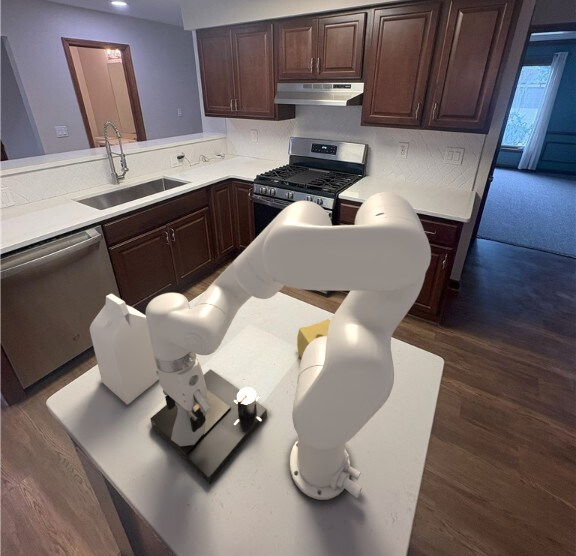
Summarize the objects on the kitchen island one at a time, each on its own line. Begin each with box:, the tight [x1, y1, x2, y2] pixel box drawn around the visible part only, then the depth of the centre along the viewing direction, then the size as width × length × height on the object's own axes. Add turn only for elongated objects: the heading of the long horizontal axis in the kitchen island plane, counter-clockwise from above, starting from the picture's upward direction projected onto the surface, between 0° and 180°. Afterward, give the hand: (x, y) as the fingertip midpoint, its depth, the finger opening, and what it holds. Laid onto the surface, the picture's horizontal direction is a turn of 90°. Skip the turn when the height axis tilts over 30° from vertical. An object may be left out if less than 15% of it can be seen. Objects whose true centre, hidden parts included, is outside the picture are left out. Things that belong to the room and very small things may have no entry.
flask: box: [171, 402, 205, 446], centre depth 67 cm, size 7×7×10 cm
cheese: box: [296, 318, 331, 359], centre depth 89 cm, size 10×11×10 cm
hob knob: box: [237, 387, 257, 419], centre depth 73 cm, size 4×4×5 cm
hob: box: [150, 368, 268, 484], centre depth 74 cm, size 21×19×2 cm
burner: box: [149, 389, 231, 455], centre depth 73 cm, size 13×13×1 cm
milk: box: [89, 293, 159, 406], centre depth 80 cm, size 12×12×26 cm
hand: (186, 414), depth 67 cm, fingers open, 7 cm apart
